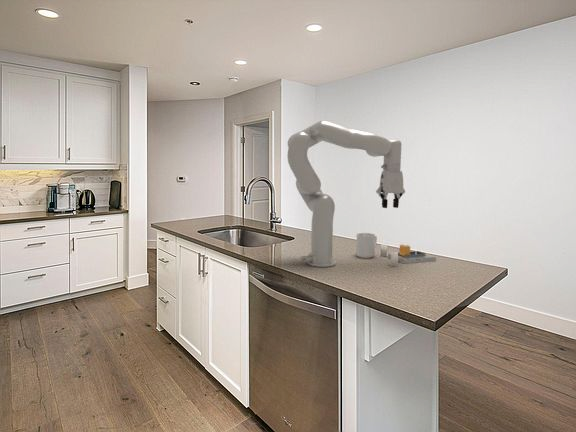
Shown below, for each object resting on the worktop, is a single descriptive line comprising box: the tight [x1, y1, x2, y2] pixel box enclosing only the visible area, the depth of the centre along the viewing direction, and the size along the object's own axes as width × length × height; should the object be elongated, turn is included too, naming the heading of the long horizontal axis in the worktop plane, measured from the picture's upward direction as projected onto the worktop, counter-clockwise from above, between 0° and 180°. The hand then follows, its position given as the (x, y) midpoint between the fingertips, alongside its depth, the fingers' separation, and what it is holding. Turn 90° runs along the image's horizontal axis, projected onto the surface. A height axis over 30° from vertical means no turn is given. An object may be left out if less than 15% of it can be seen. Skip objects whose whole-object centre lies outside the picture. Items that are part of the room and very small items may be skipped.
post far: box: [380, 243, 388, 258], centre depth 182 cm, size 3×3×6 cm
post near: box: [390, 251, 399, 268], centre depth 163 cm, size 3×3×6 cm
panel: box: [387, 250, 437, 265], centre depth 175 cm, size 18×12×3 cm, turn 108°
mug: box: [355, 232, 378, 259], centre depth 181 cm, size 12×9×11 cm
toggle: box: [398, 243, 411, 256], centre depth 174 cm, size 3×4×5 cm
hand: (390, 207), depth 169 cm, fingers open, 5 cm apart
